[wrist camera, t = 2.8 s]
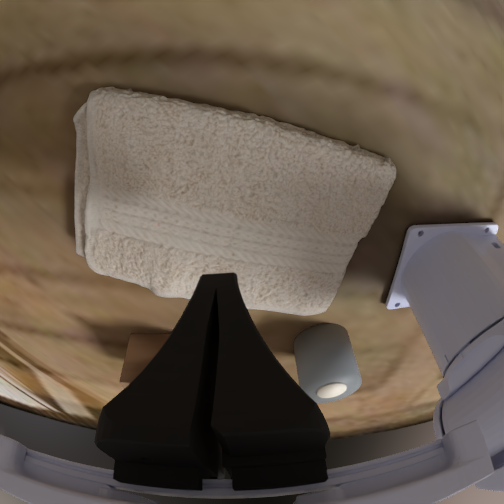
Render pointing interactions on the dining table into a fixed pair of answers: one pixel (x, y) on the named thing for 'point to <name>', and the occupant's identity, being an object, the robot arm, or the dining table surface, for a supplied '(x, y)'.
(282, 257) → the washcloth
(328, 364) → the slate cylinder
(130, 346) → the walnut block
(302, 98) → the dining table surface
